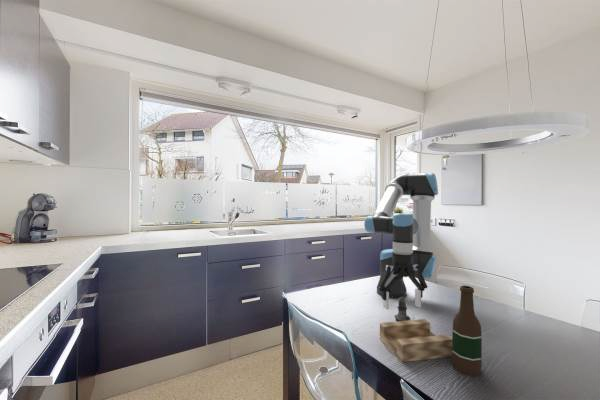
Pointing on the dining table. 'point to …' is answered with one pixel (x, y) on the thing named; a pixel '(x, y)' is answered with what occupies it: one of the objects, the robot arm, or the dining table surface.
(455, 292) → the dining table surface
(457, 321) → the beer bottle
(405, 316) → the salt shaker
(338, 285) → the dining table surface
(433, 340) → the well block
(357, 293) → the dining table surface
